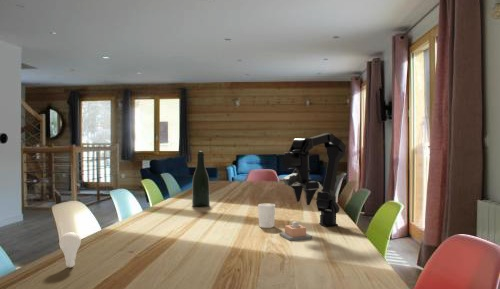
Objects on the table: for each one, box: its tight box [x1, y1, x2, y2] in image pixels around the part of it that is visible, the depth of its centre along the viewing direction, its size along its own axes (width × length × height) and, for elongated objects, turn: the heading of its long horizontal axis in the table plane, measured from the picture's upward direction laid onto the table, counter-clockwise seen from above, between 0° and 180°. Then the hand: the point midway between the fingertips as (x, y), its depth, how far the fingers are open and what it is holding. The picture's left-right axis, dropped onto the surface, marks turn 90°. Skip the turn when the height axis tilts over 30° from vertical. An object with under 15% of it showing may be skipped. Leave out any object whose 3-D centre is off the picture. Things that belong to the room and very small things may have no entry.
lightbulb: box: [58, 231, 82, 269], centre depth 125 cm, size 6×6×11 cm
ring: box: [284, 224, 307, 237], centre depth 162 cm, size 6×6×3 cm
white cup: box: [257, 202, 276, 229], centre depth 182 cm, size 8×8×10 cm
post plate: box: [278, 221, 313, 242], centre depth 162 cm, size 10×10×6 cm
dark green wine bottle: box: [191, 150, 211, 208], centre depth 240 cm, size 10×10×33 cm
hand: (303, 203), depth 172 cm, fingers open, 9 cm apart
